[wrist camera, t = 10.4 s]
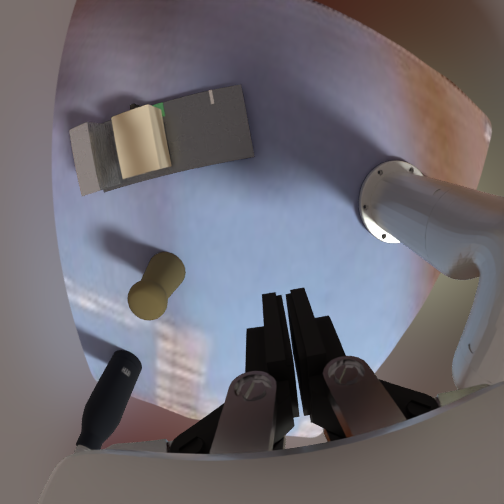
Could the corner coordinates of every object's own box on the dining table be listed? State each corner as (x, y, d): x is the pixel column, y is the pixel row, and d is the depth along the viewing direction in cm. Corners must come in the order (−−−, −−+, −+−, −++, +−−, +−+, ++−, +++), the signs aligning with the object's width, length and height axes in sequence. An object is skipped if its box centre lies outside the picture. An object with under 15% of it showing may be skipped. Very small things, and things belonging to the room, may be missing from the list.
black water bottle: (115, 369, 50) (60, 486, 22) (111, 346, 48) (45, 470, 20) (143, 376, 50) (97, 502, 22) (140, 354, 48) (84, 489, 20)
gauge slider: (159, 102, 32) (146, 96, 27) (171, 166, 35) (160, 168, 30) (126, 113, 32) (110, 109, 27) (138, 175, 35) (122, 179, 30)
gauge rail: (241, 86, 33) (239, 72, 26) (254, 156, 36) (255, 157, 29) (96, 128, 34) (68, 126, 27) (108, 190, 38) (82, 200, 30)
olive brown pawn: (143, 255, 41) (113, 288, 31) (179, 248, 41) (156, 281, 30) (155, 290, 43) (131, 329, 33) (190, 284, 43) (173, 325, 32)
